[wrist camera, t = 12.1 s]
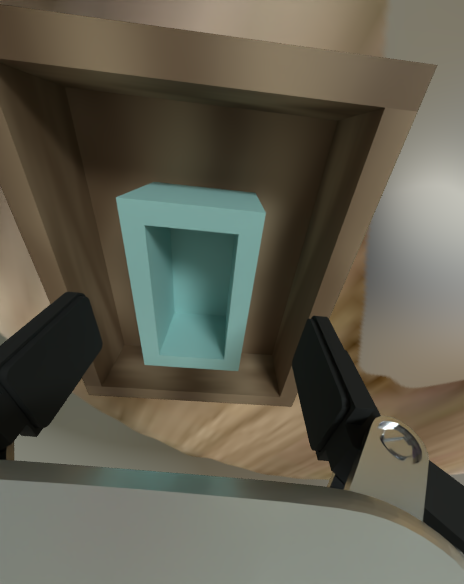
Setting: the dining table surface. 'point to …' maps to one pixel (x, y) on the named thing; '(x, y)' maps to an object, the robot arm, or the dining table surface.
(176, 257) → the small crate
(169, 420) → the dining table surface
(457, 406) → the dining table surface
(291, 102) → the big crate
